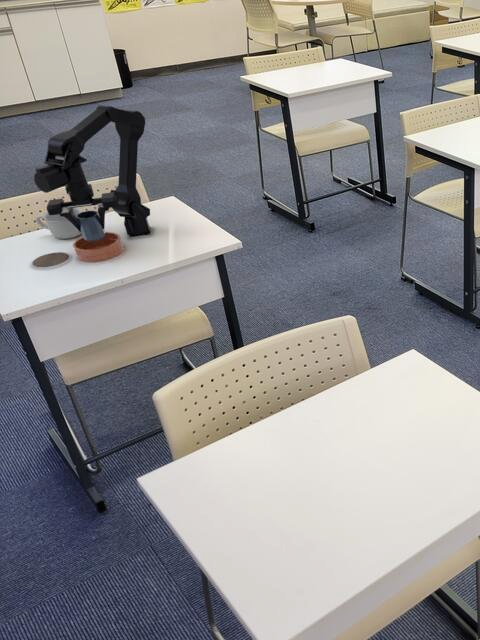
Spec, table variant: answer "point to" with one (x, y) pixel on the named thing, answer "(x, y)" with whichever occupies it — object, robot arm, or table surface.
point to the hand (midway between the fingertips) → (92, 230)
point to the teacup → (59, 225)
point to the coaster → (50, 259)
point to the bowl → (99, 248)
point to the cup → (90, 226)
